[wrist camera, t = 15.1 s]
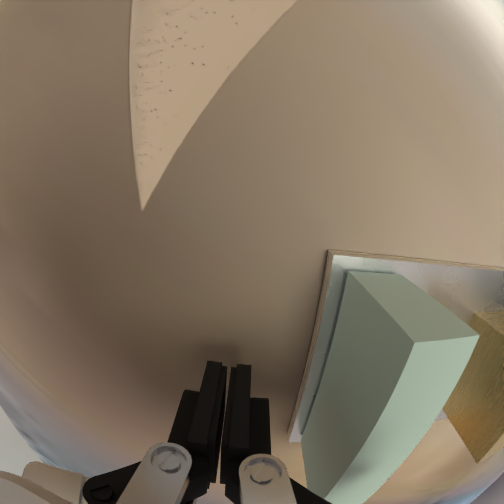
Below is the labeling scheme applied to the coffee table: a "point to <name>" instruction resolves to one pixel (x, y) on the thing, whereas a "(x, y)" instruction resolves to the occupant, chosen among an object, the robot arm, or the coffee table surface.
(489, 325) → the brass block
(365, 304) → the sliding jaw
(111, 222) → the coffee table surface
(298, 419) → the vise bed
